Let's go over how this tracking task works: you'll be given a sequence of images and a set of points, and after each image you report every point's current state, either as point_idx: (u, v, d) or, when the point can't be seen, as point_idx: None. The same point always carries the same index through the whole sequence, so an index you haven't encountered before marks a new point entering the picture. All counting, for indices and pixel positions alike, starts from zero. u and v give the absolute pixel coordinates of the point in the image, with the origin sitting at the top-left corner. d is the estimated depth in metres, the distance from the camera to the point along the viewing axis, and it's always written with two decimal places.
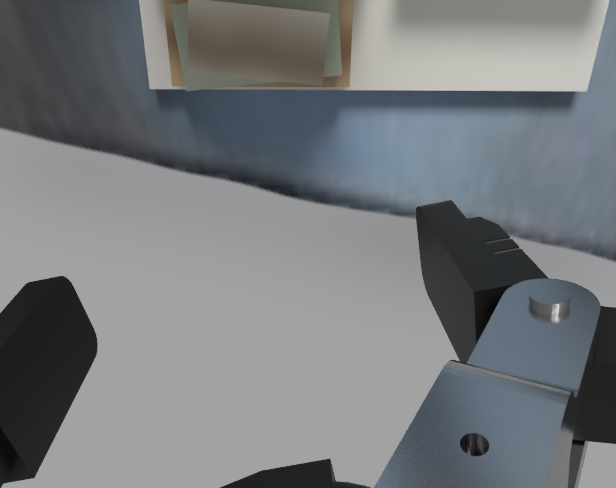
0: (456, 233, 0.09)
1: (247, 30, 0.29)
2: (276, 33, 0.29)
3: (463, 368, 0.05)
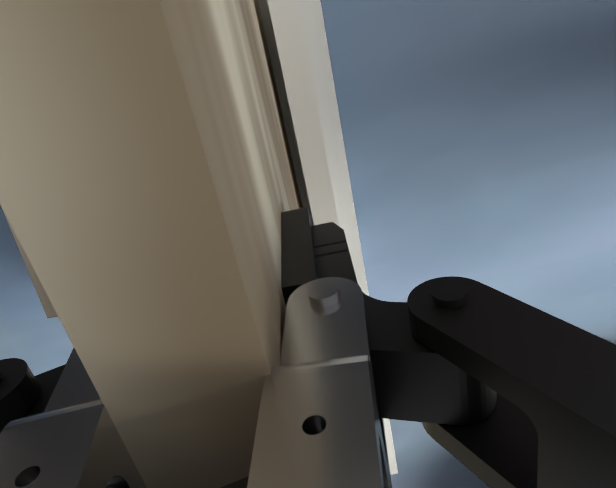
0: (294, 237, 0.10)
1: None
2: None
3: (281, 369, 0.06)
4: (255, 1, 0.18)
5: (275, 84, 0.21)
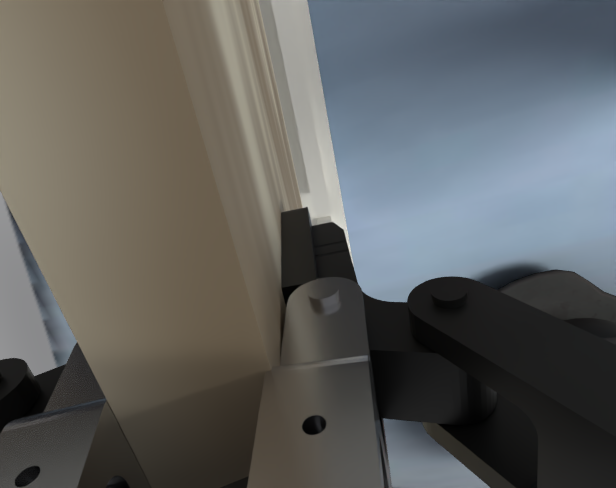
0: (294, 237, 0.10)
1: None
2: None
3: (281, 369, 0.06)
4: (255, 0, 0.18)
5: (275, 83, 0.21)
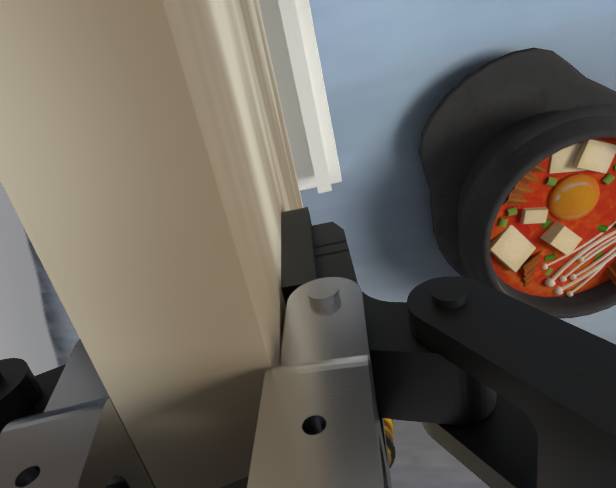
0: (293, 237, 0.10)
1: None
2: None
3: (281, 369, 0.06)
4: (255, 0, 0.18)
5: (275, 82, 0.21)
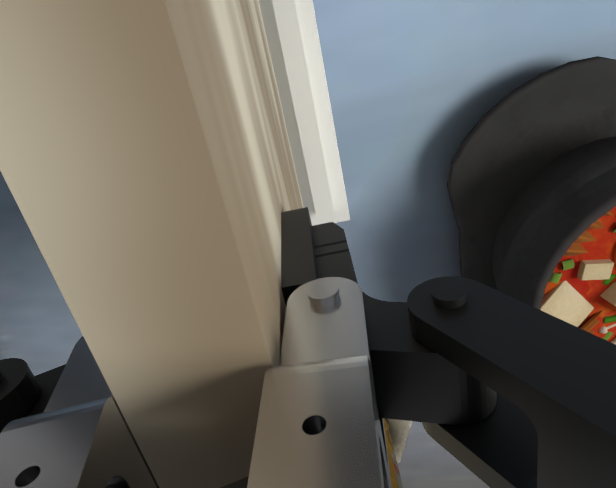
0: (293, 237, 0.10)
1: None
2: None
3: (281, 369, 0.06)
4: (255, 1, 0.18)
5: (275, 83, 0.21)
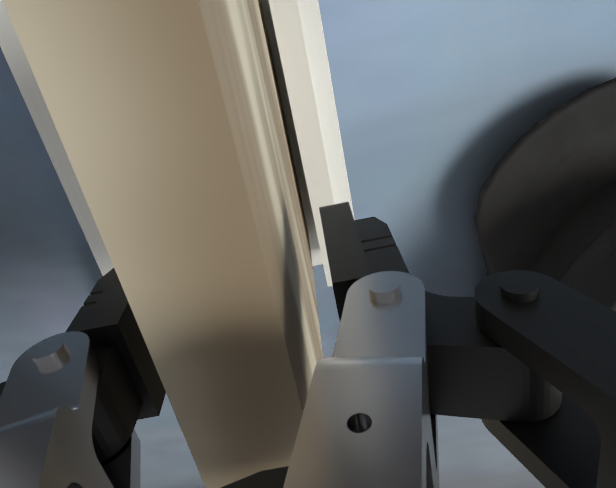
0: (339, 231, 0.10)
1: None
2: None
3: (332, 362, 0.06)
4: None
5: (276, 77, 0.22)
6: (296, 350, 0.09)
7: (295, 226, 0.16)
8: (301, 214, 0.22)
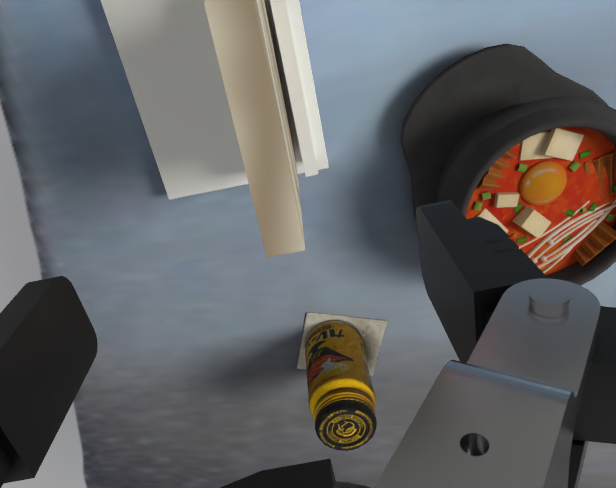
0: (456, 233, 0.09)
1: None
2: None
3: (463, 368, 0.05)
4: (264, 1, 0.34)
5: (274, 47, 0.37)
6: (282, 133, 0.24)
7: (284, 117, 0.31)
8: (289, 128, 0.37)
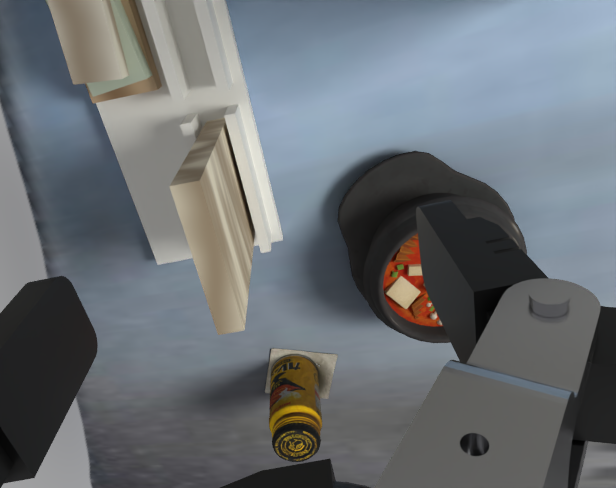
0: (456, 233, 0.09)
1: (88, 18, 0.38)
2: (95, 41, 0.39)
3: (462, 368, 0.05)
4: (226, 129, 0.46)
5: None
6: (225, 255, 0.36)
7: (236, 224, 0.42)
8: (247, 219, 0.48)
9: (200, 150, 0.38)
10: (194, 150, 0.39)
